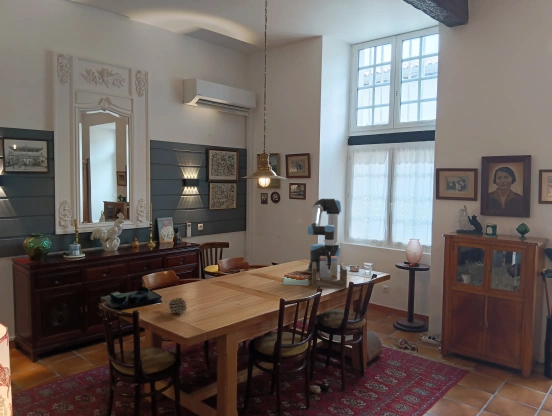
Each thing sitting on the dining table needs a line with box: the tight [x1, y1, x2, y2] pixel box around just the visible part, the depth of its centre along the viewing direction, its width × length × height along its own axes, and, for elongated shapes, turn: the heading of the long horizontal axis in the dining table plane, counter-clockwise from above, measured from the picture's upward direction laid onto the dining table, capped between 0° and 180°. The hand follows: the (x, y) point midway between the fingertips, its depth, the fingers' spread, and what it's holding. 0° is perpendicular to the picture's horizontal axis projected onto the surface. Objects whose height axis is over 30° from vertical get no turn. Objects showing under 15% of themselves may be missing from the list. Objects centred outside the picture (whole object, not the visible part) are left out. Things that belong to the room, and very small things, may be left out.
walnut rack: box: [311, 262, 348, 289], centre depth 343 cm, size 26×26×14 cm
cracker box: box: [319, 256, 339, 280], centre depth 345 cm, size 14×6×21 cm, turn 84°
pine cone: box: [165, 297, 188, 314], centre depth 266 cm, size 22×10×10 cm, turn 49°
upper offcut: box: [321, 278, 338, 280], centre depth 339 cm, size 6×12×2 cm, turn 88°
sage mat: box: [282, 276, 310, 287], centre depth 347 cm, size 24×20×1 cm
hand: (328, 271), depth 346 cm, fingers open, 11 cm apart
